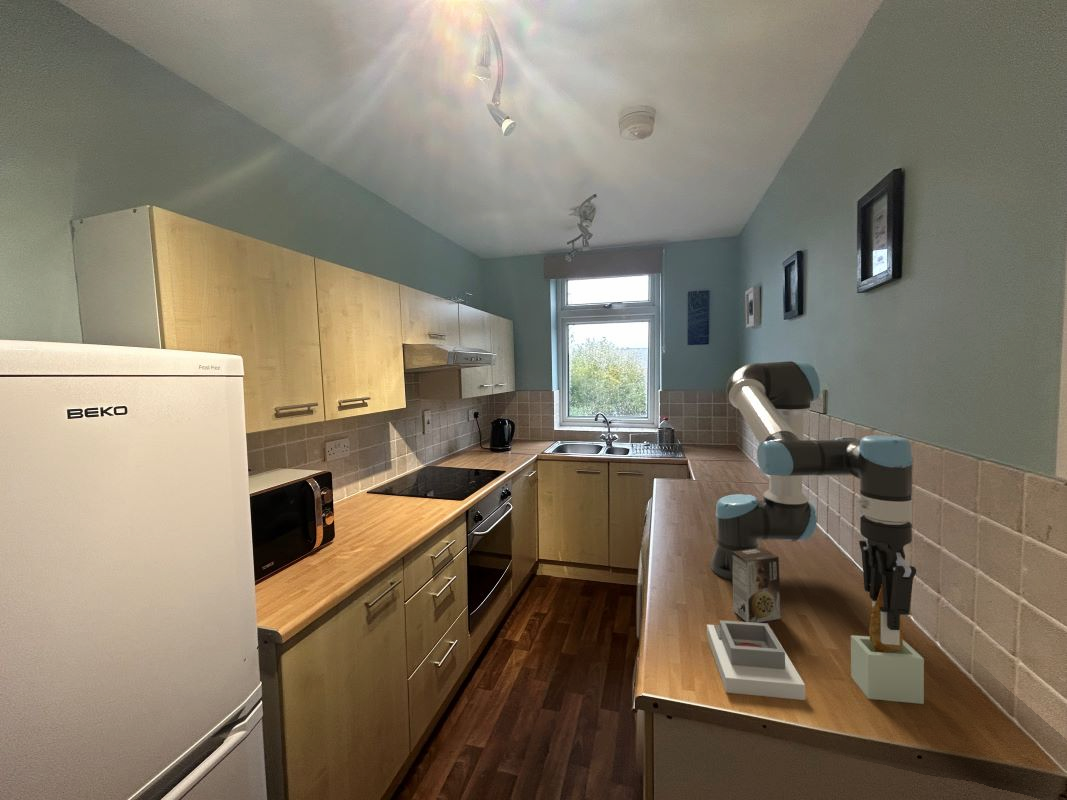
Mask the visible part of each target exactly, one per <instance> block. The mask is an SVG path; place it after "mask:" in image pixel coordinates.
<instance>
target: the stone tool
mask: <svg viewBox="0 0 1067 800" xmlns="http://www.w3.org/2000/svg"><path fill="white" fill-rule="evenodd" d="M871 607H872V606H871ZM879 607H884V602H883V586H882V585H881V589H880V592H879V595H878V598H877V601H876V603H875V605H874V606H873V607H872V608H871V609H872V612H871V614H870V615H871V616H870V618H871V619H870V621H869V629H868V634H869V637H870V641H871V644H872V645H873V646H874V648H875V651H876V652H883V653H895V652H899V651H901V649H902V646H903V640H904V639H903V624H902V618H901V617H900V645H890V644H883V643H882V642H881V611H880V608H879ZM902 639H903V640H902Z"/></svg>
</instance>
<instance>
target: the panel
mask: <svg viewBox="0 0 1067 800" xmlns="http://www.w3.org/2000/svg"><path fill="white" fill-rule="evenodd" d="M718 621H719V622H718V623H719V624H706V639H707V640H708V643H709V646H710V649H711V652H712V656H713V658H714V661H715V664H716V667H717V669H718V673H719V676H720V678H721V681H722V682H721V683H722V684H723V687H724V690H725V693H728V694H739V695H748V696H749V695H750V696H760V697H769V698H778V699H779V698H780V699H788V700H789V699H790V700H797V701H798V700H800V701H806V685H805V682H804V681H803V679H802V678H801V676H800V674H799V673H798V671H797V669H796V667H795V666H794V664H793V663H792V661H791V659H790V657H789V656H788V654H787V653H786V651H785V649H784V648H783V646H782V644H781V642H780V641H779V640H778V637H777V636H776V634H775V633H774V630H773V629H772V628H771V627H770V625H769V623H767V622H766V623H764V622H758V623H753V622H746V621H737V620H720V619H719V620H718ZM740 643H752V644H755V645H757V646H759V647H747V646H738V645H739V644H740Z"/></svg>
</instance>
